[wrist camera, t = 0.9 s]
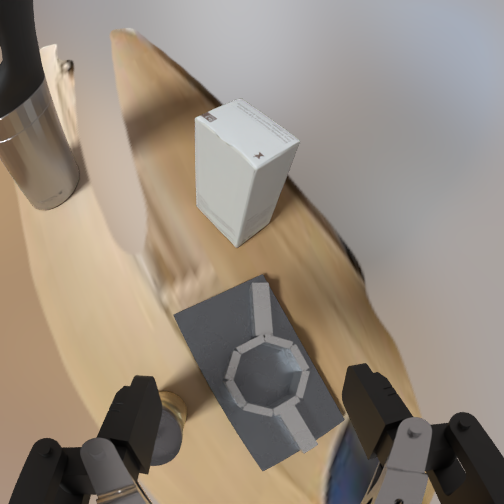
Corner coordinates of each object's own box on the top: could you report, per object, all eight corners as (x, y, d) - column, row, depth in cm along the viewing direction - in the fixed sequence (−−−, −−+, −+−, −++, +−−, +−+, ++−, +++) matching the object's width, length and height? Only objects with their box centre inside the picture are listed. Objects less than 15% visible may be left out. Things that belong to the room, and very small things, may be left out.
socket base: (174, 316, 29) (171, 309, 26) (260, 276, 33) (267, 266, 30) (260, 468, 24) (268, 479, 20) (340, 418, 27) (355, 422, 24)
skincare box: (268, 224, 36) (308, 142, 23) (234, 251, 34) (259, 170, 20) (226, 182, 38) (244, 94, 24) (191, 204, 35) (193, 113, 22)
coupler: (137, 399, 25) (101, 415, 14) (175, 383, 26) (159, 393, 15) (158, 436, 23) (135, 473, 13) (195, 420, 25) (194, 452, 14)
